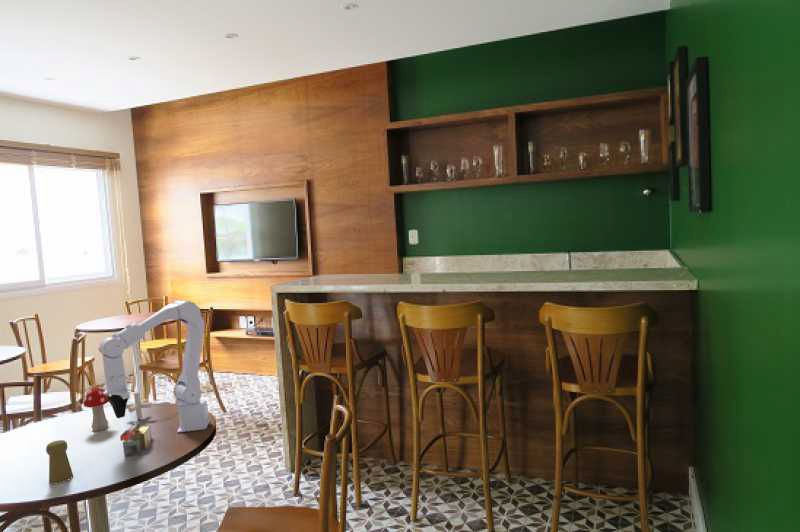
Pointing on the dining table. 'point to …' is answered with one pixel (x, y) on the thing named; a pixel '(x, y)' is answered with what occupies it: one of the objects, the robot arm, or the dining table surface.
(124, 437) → the valve lever
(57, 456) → the cork
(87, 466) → the dining table surface
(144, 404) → the pipe connector
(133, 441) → the valve body
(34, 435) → the dining table surface
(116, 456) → the dining table surface
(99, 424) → the decorative mushroom
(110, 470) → the dining table surface
